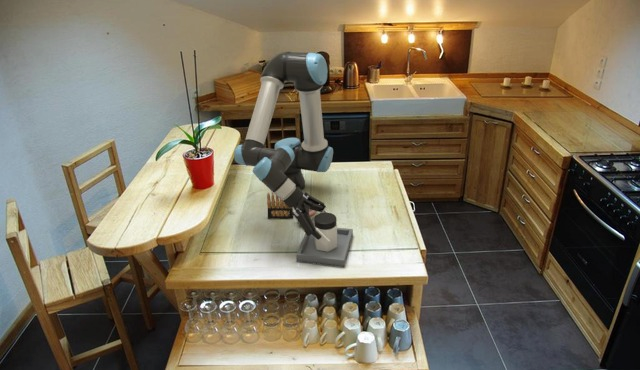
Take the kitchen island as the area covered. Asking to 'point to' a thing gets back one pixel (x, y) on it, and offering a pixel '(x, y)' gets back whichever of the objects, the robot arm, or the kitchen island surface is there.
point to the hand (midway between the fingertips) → (330, 232)
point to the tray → (331, 258)
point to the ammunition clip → (278, 208)
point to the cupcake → (312, 214)
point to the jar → (326, 230)
